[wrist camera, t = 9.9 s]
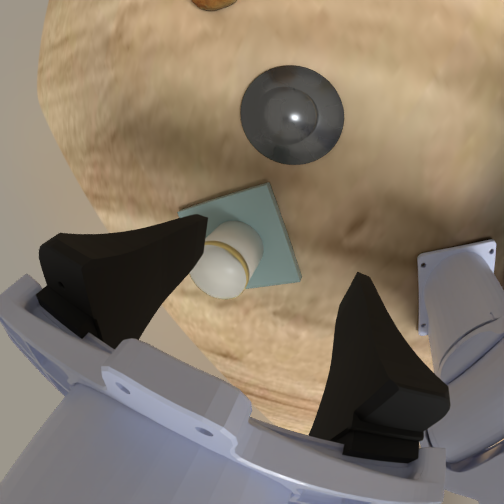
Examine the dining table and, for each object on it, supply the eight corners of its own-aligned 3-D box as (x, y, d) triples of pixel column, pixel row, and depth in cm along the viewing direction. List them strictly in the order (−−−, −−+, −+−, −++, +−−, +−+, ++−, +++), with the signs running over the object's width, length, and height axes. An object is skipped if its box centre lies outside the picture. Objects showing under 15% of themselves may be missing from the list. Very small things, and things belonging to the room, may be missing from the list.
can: (250, 278, 26) (232, 309, 22) (205, 252, 26) (181, 278, 22) (274, 239, 23) (257, 267, 19) (222, 209, 23) (197, 232, 19)
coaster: (301, 276, 25) (300, 281, 24) (218, 287, 29) (215, 292, 28) (269, 182, 21) (266, 184, 21) (181, 209, 25) (177, 212, 25)
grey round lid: (357, 150, 18) (358, 155, 16) (262, 174, 21) (252, 183, 19) (322, 53, 15) (319, 46, 13) (228, 87, 18) (214, 86, 16)
